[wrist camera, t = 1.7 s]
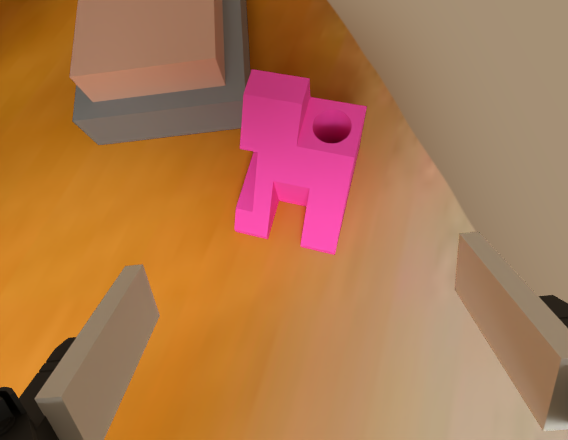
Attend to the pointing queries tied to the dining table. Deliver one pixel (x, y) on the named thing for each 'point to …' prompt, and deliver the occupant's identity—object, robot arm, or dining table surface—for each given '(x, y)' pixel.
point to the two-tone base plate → (159, 67)
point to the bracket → (296, 157)
